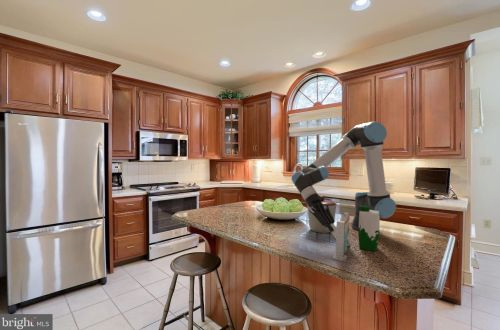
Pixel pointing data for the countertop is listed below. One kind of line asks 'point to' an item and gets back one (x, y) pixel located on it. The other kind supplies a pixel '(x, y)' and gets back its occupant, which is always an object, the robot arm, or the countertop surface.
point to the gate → (345, 223)
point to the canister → (314, 223)
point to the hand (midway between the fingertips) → (338, 237)
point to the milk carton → (368, 228)
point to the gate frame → (342, 239)
